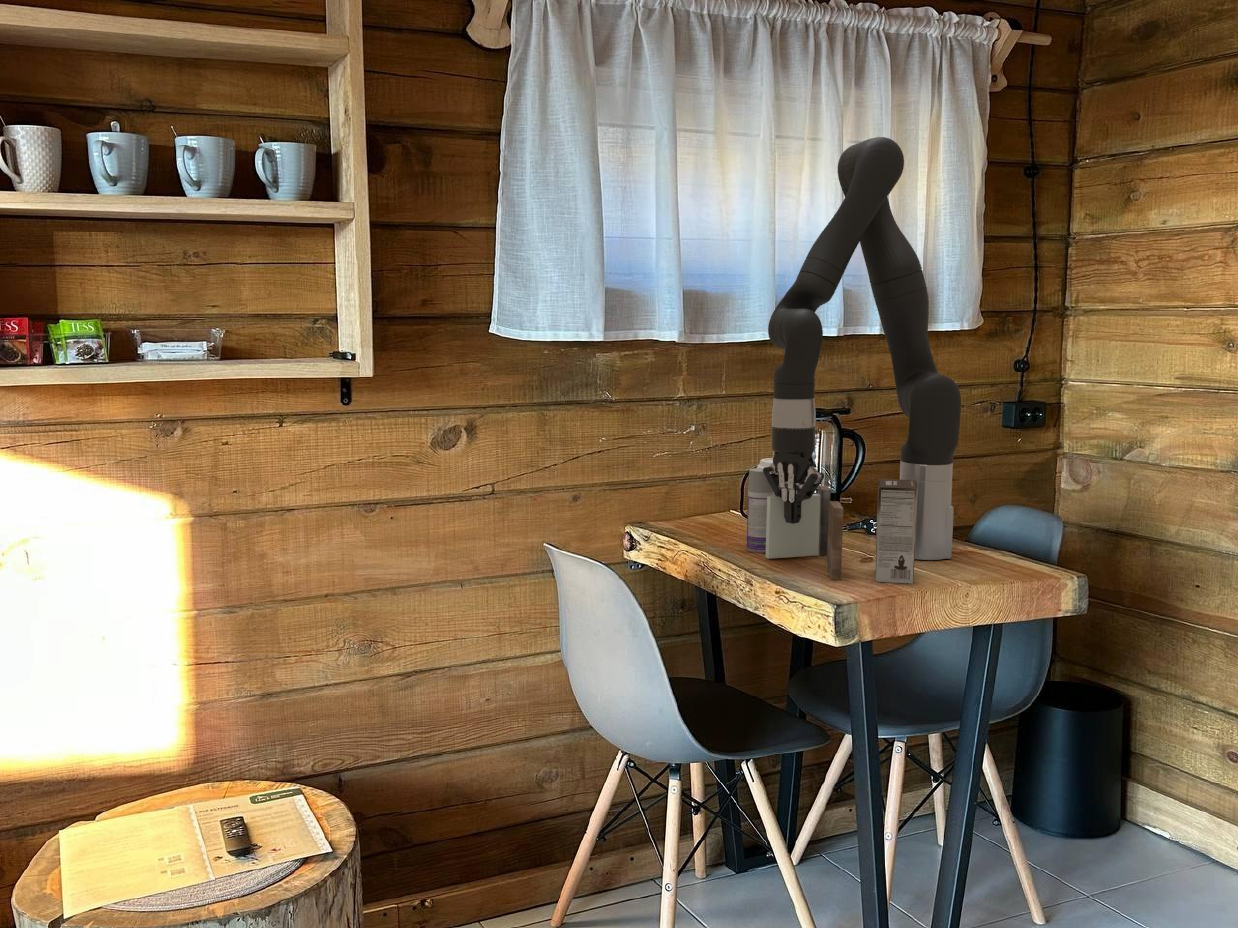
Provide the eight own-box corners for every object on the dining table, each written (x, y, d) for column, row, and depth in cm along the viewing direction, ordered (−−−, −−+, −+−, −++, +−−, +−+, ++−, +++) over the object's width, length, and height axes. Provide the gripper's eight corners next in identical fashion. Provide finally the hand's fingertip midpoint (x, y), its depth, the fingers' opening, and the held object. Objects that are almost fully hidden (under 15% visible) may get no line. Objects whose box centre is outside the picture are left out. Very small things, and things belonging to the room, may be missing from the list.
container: (755, 546, 224) (757, 467, 222) (776, 549, 222) (779, 469, 220) (741, 550, 221) (743, 469, 219) (763, 553, 218) (765, 472, 216)
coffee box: (874, 570, 206) (878, 477, 204) (912, 572, 204) (916, 479, 202) (874, 582, 197) (878, 486, 195) (914, 584, 196) (919, 487, 193)
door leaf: (815, 553, 217) (817, 493, 216) (818, 554, 216) (820, 494, 214) (765, 557, 214) (767, 496, 212) (768, 558, 213) (770, 497, 211)
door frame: (825, 549, 222) (827, 486, 220) (840, 579, 198) (843, 508, 197) (816, 549, 222) (818, 485, 220) (831, 579, 198) (833, 508, 197)
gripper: (837, 425, 205) (835, 525, 207) (780, 420, 215) (779, 515, 217) (807, 428, 200) (805, 530, 202) (751, 423, 211) (750, 520, 213)
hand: (792, 522), depth 210 cm, fingers closed
